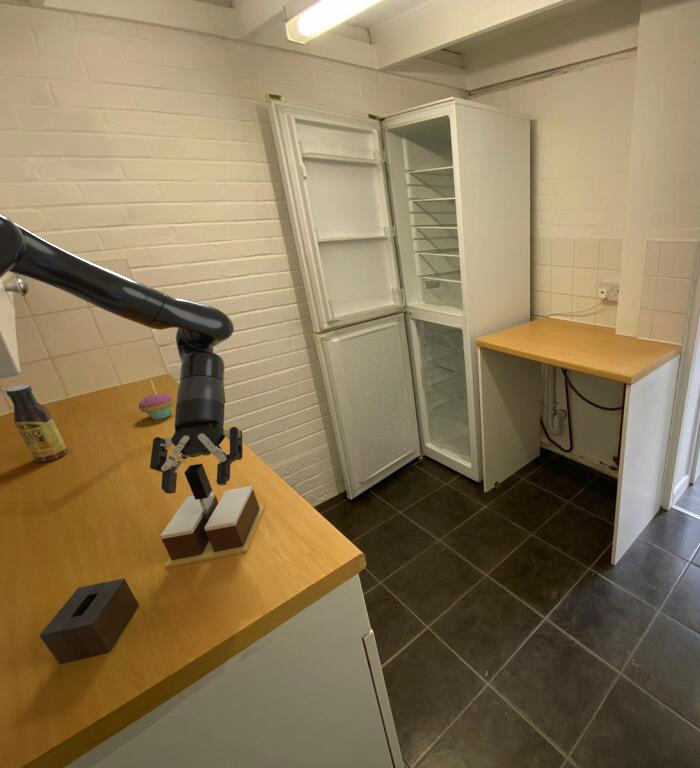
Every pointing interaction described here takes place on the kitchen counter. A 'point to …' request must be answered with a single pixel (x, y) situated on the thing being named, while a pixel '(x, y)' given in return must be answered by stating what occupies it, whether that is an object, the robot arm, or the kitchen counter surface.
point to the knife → (200, 488)
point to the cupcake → (157, 404)
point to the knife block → (90, 621)
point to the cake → (212, 528)
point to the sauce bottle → (36, 425)
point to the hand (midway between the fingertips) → (196, 488)
